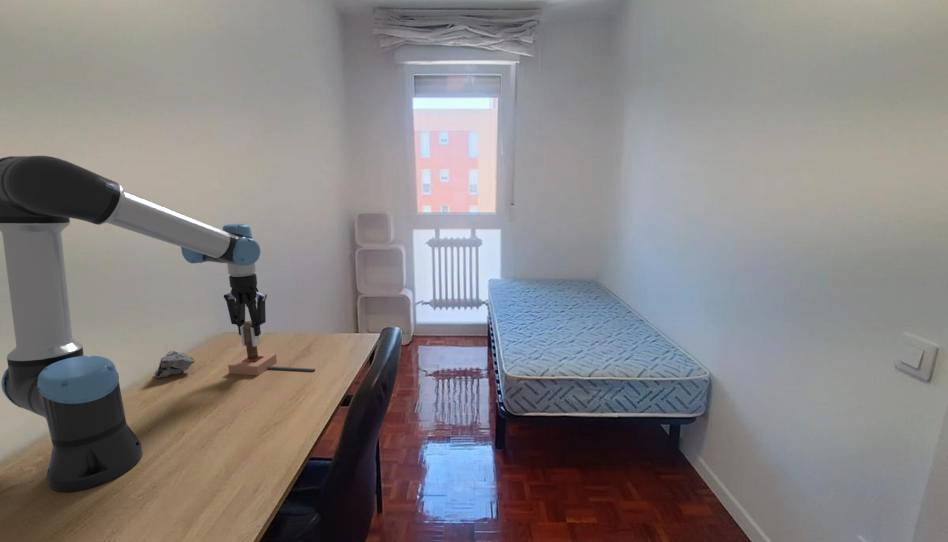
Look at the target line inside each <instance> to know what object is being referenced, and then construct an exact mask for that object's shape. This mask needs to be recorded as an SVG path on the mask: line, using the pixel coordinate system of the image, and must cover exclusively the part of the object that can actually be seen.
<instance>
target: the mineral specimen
mask: <svg viewBox="0 0 948 542" xmlns="http://www.w3.org/2000/svg"><path fill="white" fill-rule="evenodd" d="M195 362H196V360H195V359H194V358H193V357H192V356H190V355H188V354H186V353H184V352H180V353H179V352H178V351H175V350H172V351H170V350H169V351H168V352H167V353H166V354H165V355H164V356H163V357H161V358H160V361H159V365H158V368H157V370H156V371H155V373H154V376H155V378H157V379H160V378H168V377H169V376H171V375H177V374H181V372H184V371H187V370H189V369H190V367H191V366H192V365H193V364H195Z"/></svg>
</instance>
